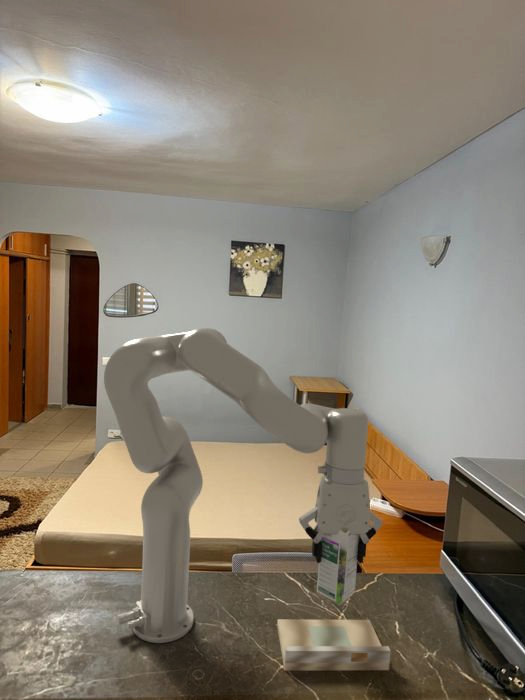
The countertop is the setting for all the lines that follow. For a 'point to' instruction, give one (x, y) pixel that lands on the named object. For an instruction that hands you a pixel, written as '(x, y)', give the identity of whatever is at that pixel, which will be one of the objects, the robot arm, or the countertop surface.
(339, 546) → the syrup box
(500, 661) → the countertop surface
